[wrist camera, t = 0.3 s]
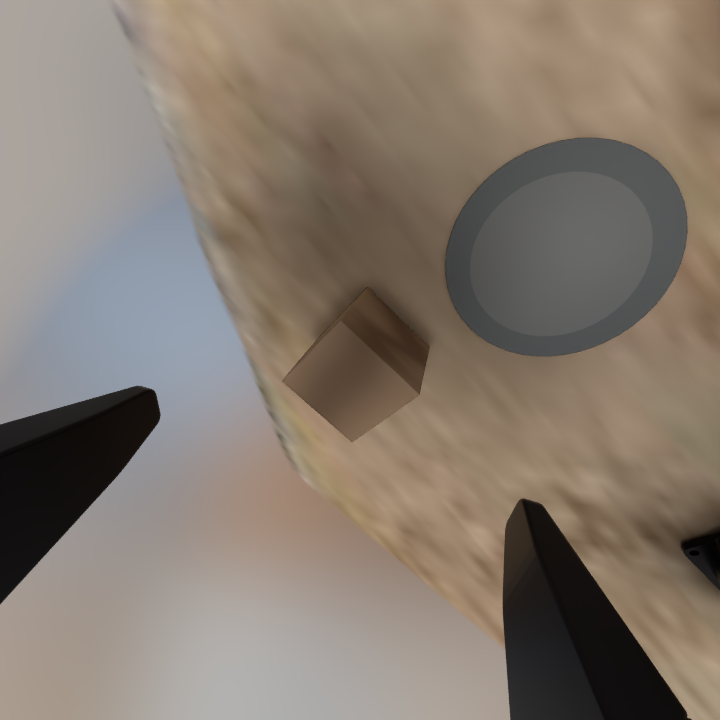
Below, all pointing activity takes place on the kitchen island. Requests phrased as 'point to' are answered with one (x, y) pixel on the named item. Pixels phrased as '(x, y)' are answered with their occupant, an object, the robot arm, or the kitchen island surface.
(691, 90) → the kitchen island surface
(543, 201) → the slate coaster
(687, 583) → the kitchen island surface
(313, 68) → the kitchen island surface
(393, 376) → the walnut block
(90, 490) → the robot arm
